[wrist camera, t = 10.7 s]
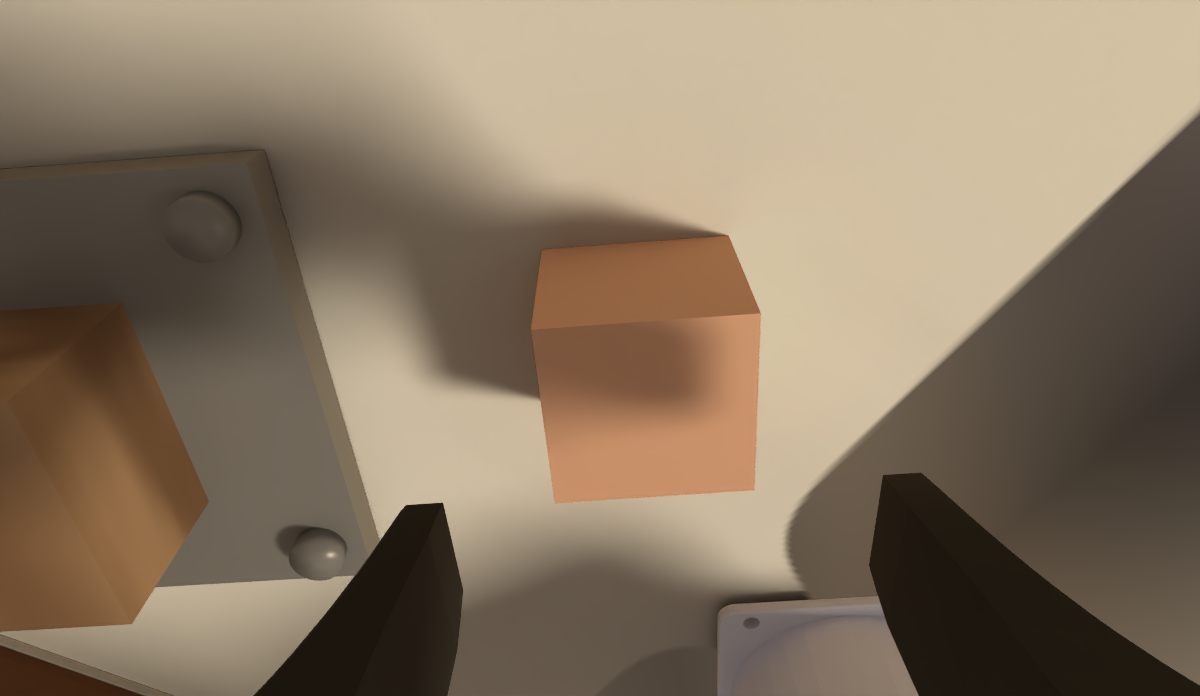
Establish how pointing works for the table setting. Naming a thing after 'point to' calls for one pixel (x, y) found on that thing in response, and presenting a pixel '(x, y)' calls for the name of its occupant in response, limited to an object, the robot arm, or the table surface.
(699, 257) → the terracotta block
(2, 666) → the food container
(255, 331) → the base plate
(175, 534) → the walnut brick
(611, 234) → the table surface
